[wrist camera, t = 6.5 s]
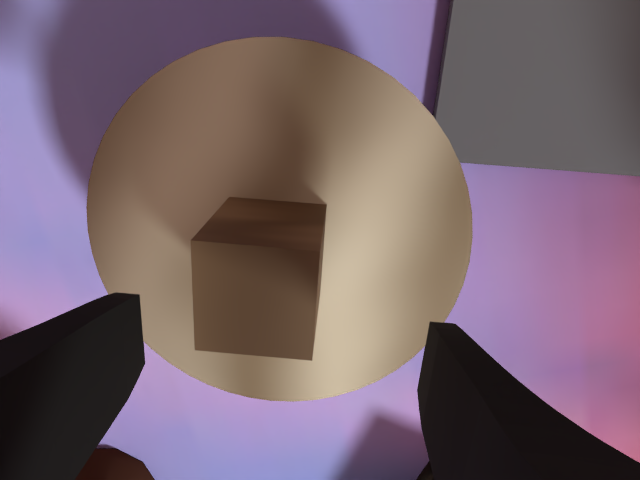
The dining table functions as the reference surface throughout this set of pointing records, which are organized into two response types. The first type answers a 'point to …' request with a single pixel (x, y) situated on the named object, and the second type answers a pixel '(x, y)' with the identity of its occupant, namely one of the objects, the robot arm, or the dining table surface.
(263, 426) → the dining table surface
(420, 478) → the diary
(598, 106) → the mat
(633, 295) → the dining table surface
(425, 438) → the robot arm
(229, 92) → the lid
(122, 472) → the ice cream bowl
